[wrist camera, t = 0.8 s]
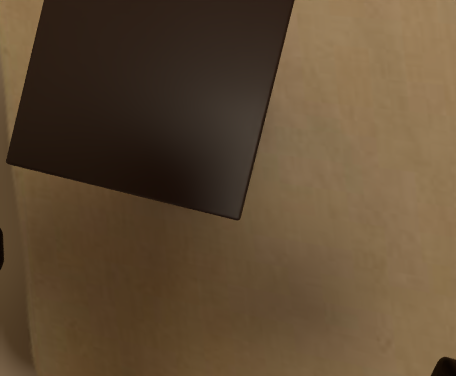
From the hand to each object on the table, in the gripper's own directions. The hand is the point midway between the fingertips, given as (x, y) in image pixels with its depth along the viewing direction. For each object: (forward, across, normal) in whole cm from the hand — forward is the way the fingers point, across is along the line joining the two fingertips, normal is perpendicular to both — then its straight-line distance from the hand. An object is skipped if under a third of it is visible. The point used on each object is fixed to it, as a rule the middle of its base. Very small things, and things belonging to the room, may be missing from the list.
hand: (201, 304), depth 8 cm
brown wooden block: (+14, +4, 0) cm, 15 cm away
